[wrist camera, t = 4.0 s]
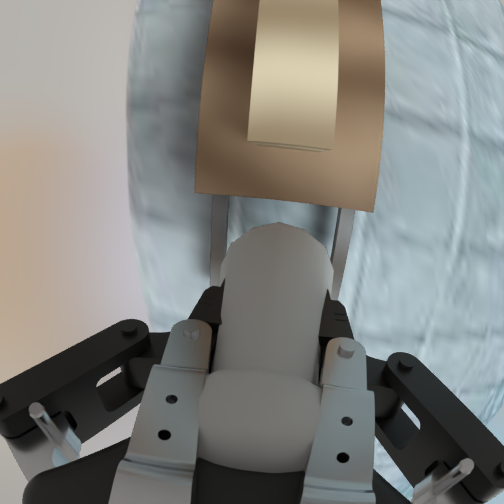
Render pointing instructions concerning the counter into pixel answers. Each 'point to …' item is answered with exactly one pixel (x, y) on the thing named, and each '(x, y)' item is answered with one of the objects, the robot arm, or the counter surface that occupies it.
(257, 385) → the salt shaker
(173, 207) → the counter surface
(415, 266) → the counter surface
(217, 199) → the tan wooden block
